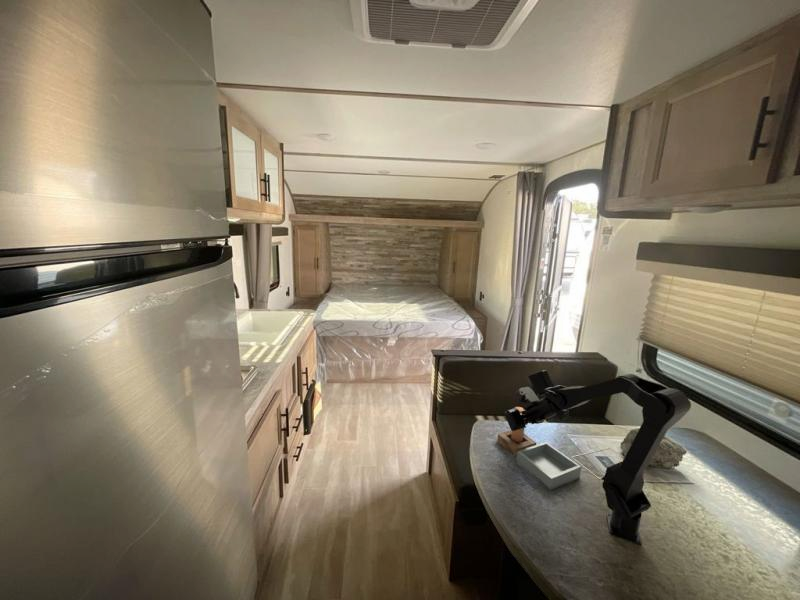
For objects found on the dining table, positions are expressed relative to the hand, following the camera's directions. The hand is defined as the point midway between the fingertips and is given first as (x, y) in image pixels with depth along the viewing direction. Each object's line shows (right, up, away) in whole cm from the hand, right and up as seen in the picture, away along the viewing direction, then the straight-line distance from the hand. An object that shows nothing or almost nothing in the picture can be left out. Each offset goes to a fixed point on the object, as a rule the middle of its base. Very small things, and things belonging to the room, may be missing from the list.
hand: (515, 422), depth 112 cm
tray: (+6, -11, -11) cm, 17 cm away
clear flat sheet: (+27, -11, -6) cm, 30 cm away
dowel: (0, -7, 0) cm, 7 cm away
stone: (+43, -11, -5) cm, 45 cm away
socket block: (0, -8, 0) cm, 8 cm away
